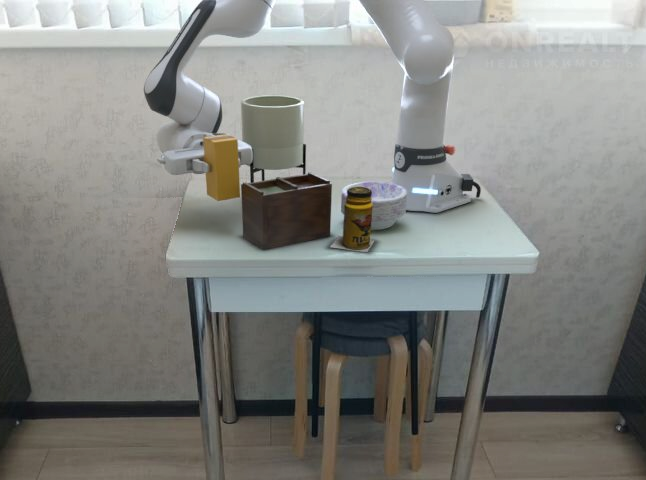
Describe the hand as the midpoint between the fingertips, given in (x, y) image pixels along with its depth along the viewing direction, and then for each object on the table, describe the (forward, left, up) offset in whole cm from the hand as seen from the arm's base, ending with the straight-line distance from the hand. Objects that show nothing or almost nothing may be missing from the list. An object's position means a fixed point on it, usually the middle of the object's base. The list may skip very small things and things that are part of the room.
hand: (223, 166), depth 150 cm
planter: (-23, -18, -15) cm, 33 cm away
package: (0, -1, -7) cm, 7 cm away
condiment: (-21, +20, -15) cm, 33 cm away
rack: (-11, +8, -15) cm, 20 cm away
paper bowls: (-33, +11, -15) cm, 38 cm away
